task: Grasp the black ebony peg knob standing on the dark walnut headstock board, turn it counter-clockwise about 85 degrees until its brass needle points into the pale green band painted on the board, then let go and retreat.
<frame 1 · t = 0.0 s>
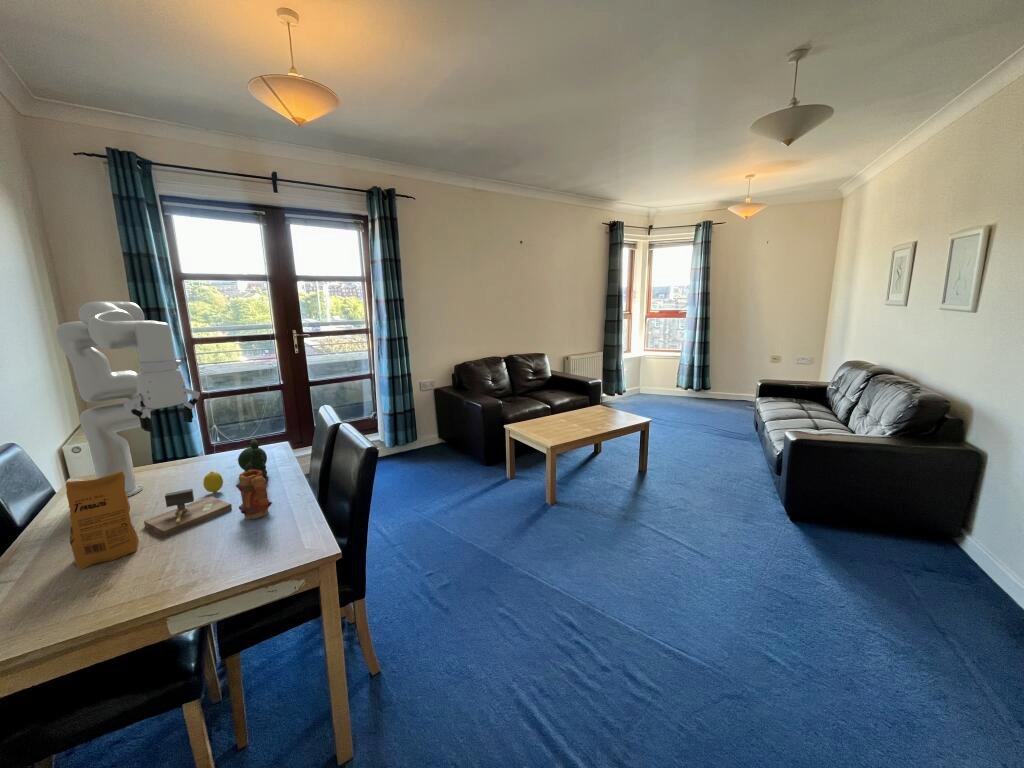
hand: (168, 426, 116), 31 cm above the table, fingers open, 9 cm apart
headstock: (190, 518, 126), on the table
mug: (259, 518, 127), on the table
lemon: (214, 493, 143), on the table
toy figurine: (256, 479, 155), on the table
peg: (178, 506, 123), point 5 cm above the table, hinge at -30.0°
coffee package: (108, 554, 108), on the table
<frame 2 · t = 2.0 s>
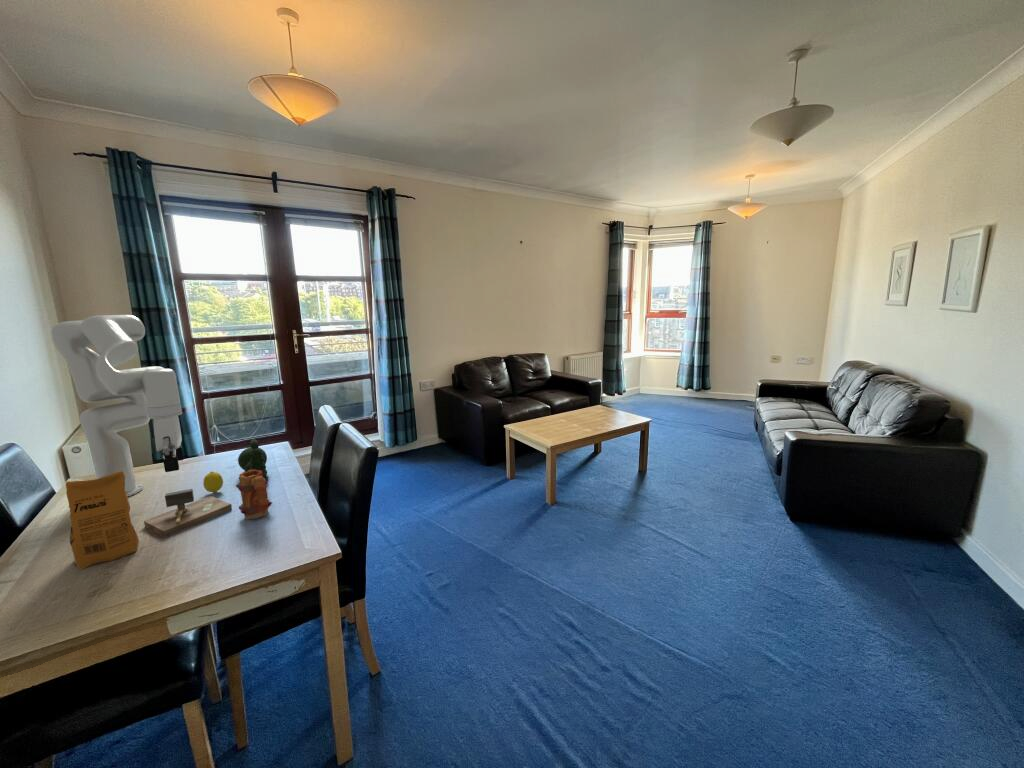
hand: (175, 465, 123), 17 cm above the table, fingers open, 9 cm apart
nothing on the table moved.
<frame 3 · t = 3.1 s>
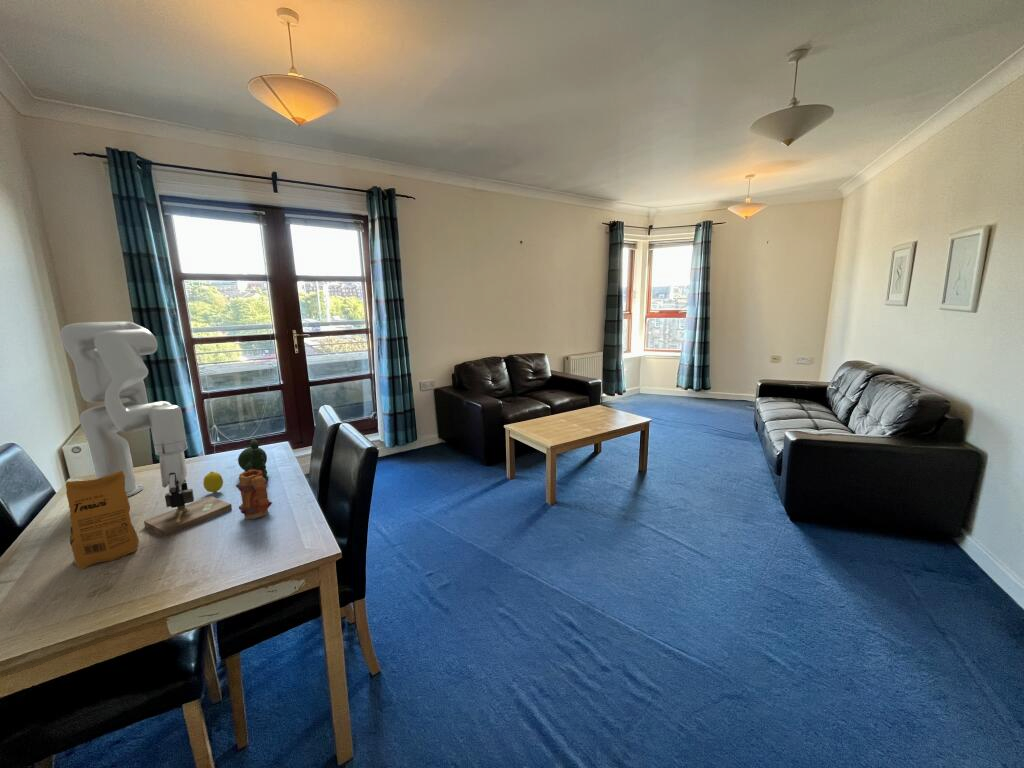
hand: (180, 500, 125), 6 cm above the table, fingers open, 7 cm apart
nothing on the table moved.
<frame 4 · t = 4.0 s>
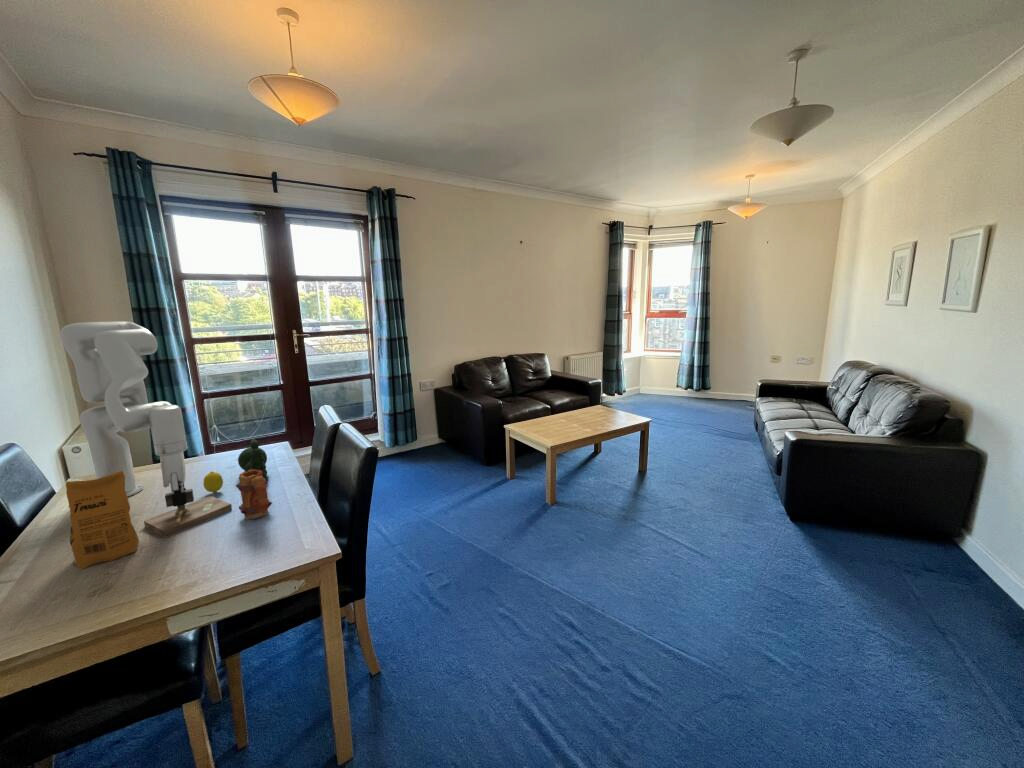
hand: (180, 502, 125), 5 cm above the table, fingers closed on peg, 2 cm apart
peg: (178, 506, 123), point 5 cm above the table, hinge at -29.6°, touching gripper
everything else where it was.
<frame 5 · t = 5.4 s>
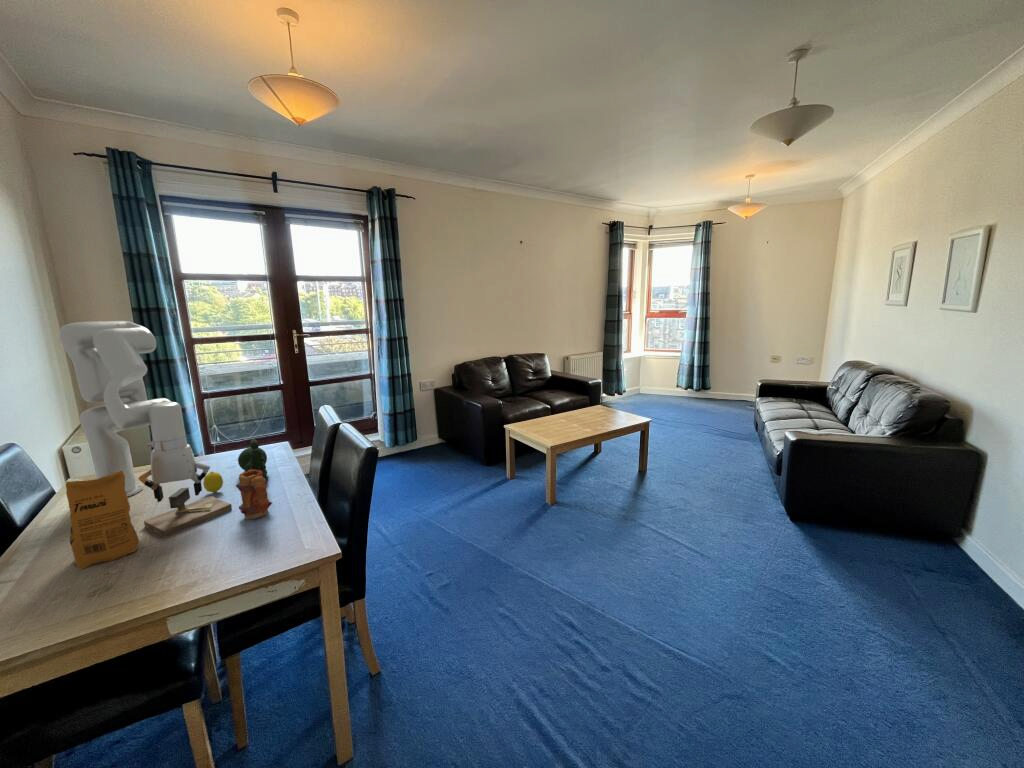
hand: (179, 496, 125), 7 cm above the table, fingers open, 8 cm apart
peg: (192, 500, 126), point 5 cm above the table, hinge at 39.1°
everything else where it was.
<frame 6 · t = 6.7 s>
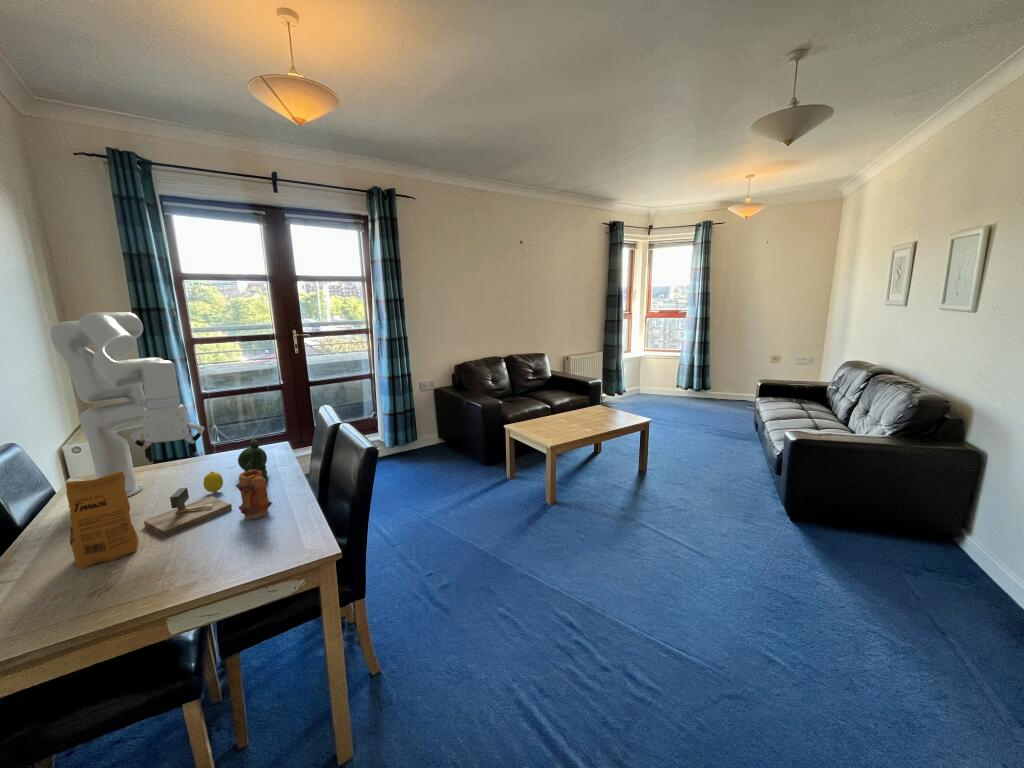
hand: (172, 457, 123), 20 cm above the table, fingers open, 9 cm apart
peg: (193, 500, 126), point 5 cm above the table, hinge at 45.9°
everything else where it was.
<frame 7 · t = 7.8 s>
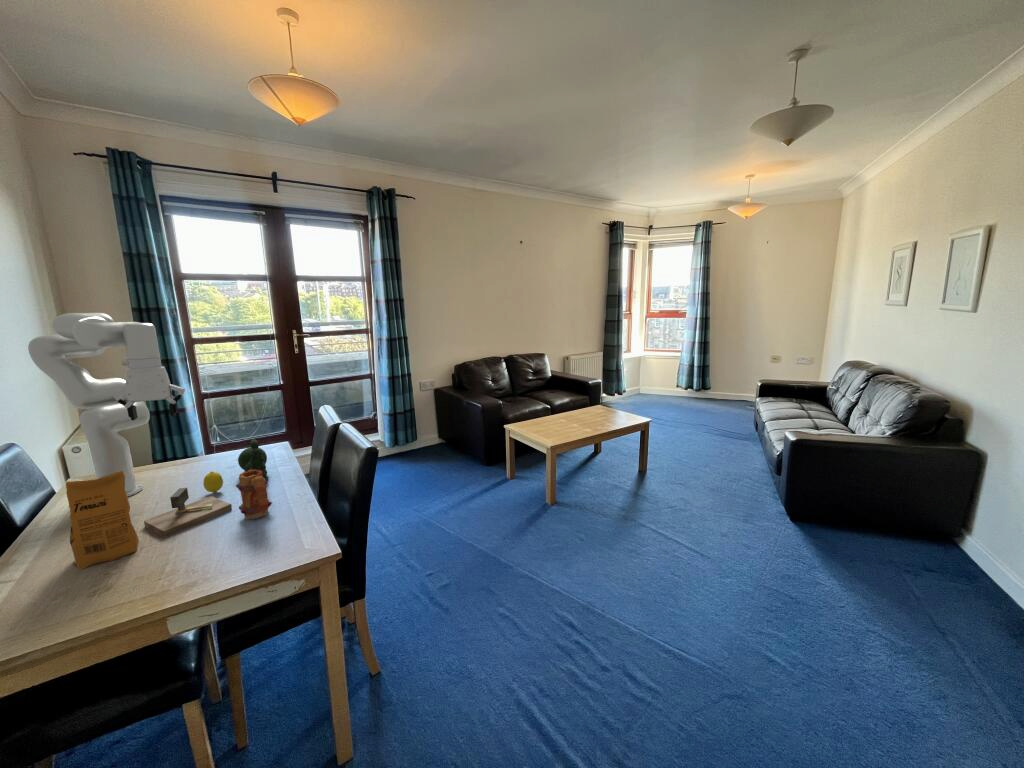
hand: (154, 417, 128), 30 cm above the table, fingers open, 9 cm apart
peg: (193, 500, 127), point 5 cm above the table, hinge at 46.7°
everything else where it was.
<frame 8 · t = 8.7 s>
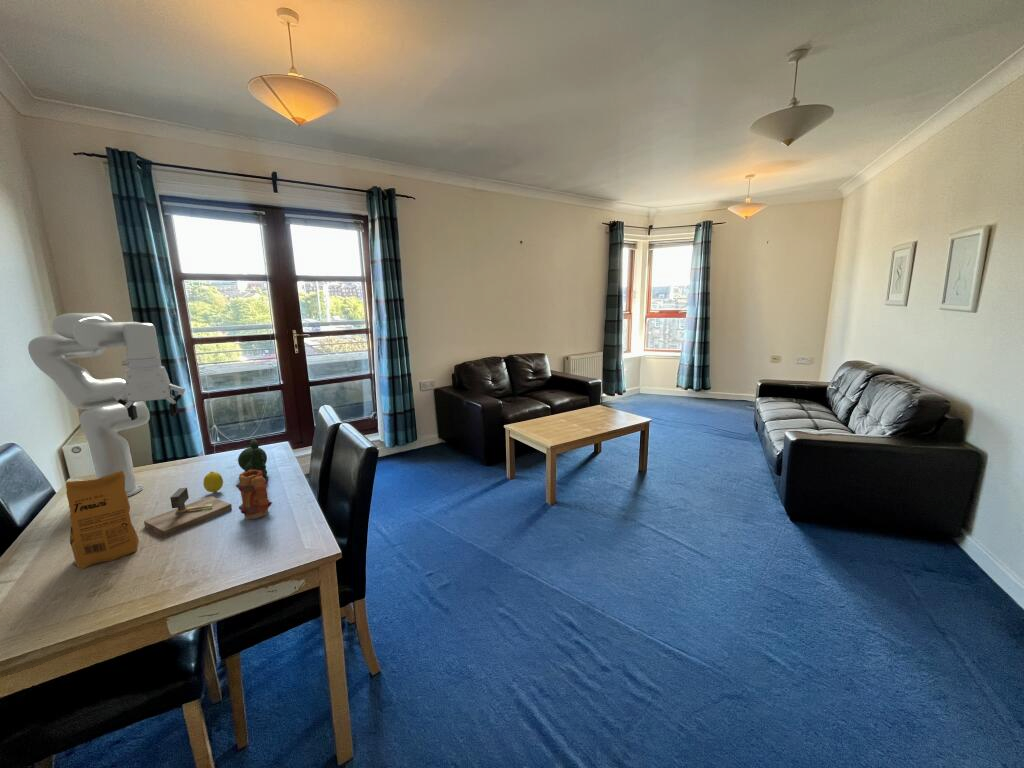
hand: (154, 417, 128), 30 cm above the table, fingers open, 9 cm apart
nothing on the table moved.
at the end: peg at +47° (first picture: -30°); the gripper is holding nothing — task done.
